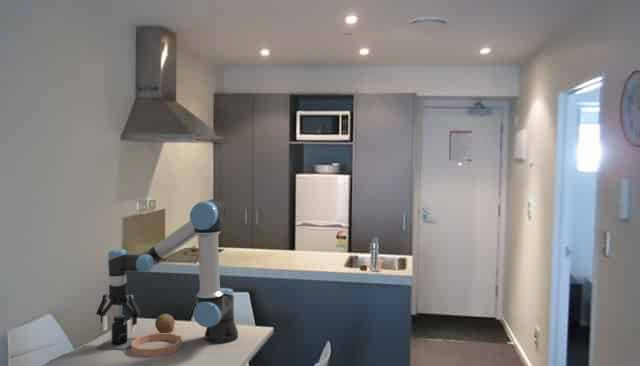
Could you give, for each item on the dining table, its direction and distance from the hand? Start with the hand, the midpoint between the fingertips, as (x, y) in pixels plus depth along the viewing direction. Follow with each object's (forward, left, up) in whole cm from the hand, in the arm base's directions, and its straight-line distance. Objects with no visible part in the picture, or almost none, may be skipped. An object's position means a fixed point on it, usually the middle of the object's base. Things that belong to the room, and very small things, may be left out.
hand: (119, 331), depth 242 cm
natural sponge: (-15, -15, -6) cm, 22 cm away
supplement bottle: (0, 0, -6) cm, 6 cm away
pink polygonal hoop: (-19, +2, -6) cm, 20 cm away
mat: (0, 0, -6) cm, 6 cm away
